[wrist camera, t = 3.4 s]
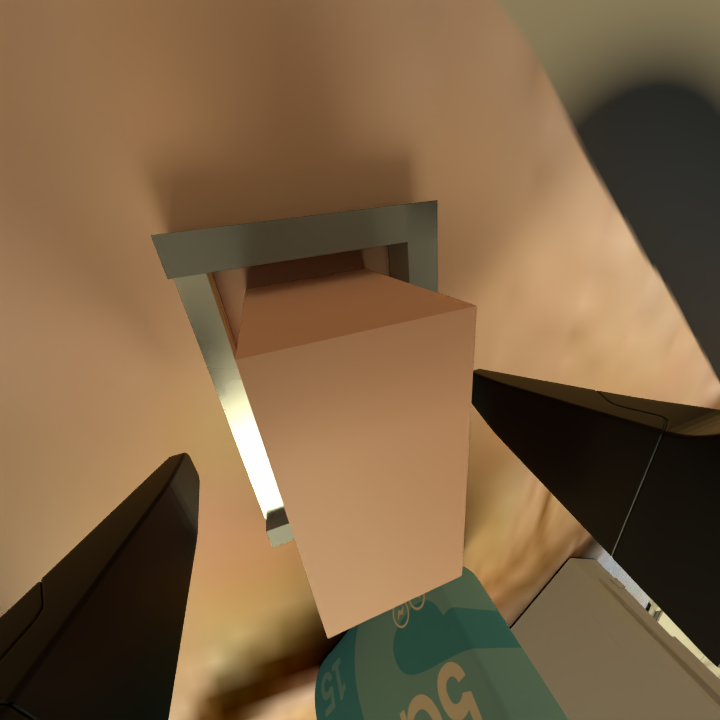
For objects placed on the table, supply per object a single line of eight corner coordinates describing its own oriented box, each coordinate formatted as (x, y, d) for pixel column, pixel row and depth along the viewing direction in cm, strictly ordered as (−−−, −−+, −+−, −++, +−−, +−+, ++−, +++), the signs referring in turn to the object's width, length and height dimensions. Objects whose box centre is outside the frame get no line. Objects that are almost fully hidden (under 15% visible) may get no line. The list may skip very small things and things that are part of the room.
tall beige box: (383, 444, 14) (461, 575, 9) (298, 473, 13) (327, 638, 8) (364, 268, 10) (476, 306, 5) (246, 288, 9) (235, 360, 4)
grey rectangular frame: (421, 462, 15) (438, 485, 14) (271, 516, 13) (272, 547, 12) (413, 204, 10) (437, 200, 9) (167, 234, 8) (150, 235, 7)
